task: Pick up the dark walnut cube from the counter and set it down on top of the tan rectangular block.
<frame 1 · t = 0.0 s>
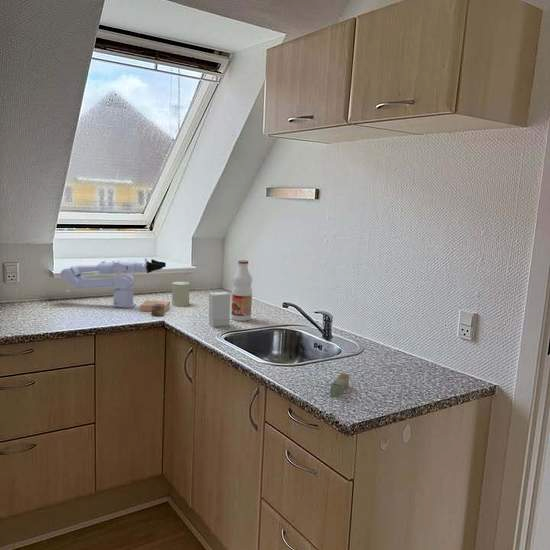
hand: (163, 265, 262), 22 cm above the worktop, tool horizontal, fingers open, 7 cm apart
walnut cube: (157, 315, 250), on the worktop
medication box: (339, 391, 161), on the worktop
can: (180, 304, 276), on the worktop
tan rectangular block: (155, 309, 262), on the worktop
skincare box: (218, 325, 235), on the worktop
fruit juice: (241, 319, 249), on the worktop
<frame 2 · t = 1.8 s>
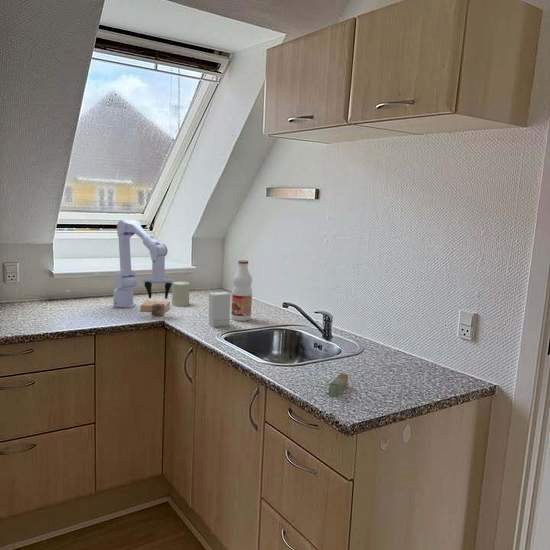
hand: (158, 298, 249), 8 cm above the worktop, tool pointing down, fingers open, 7 cm apart
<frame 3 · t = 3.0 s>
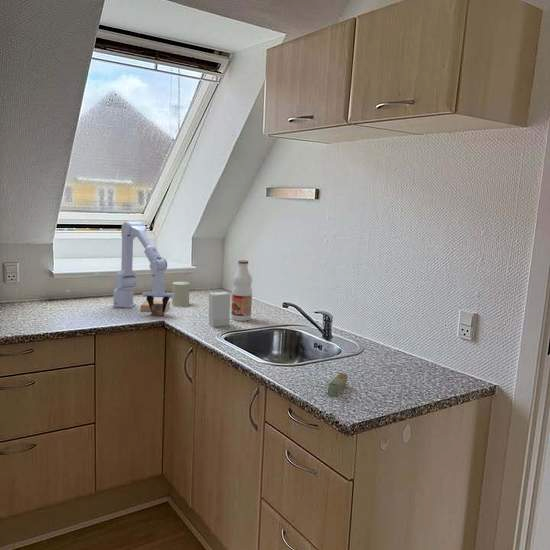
hand: (157, 311, 250), 1 cm above the worktop, tool pointing down, fingers closed on walnut cube, 5 cm apart
walnut cube: (157, 314, 250), on the worktop, touching gripper
everything else where it was.
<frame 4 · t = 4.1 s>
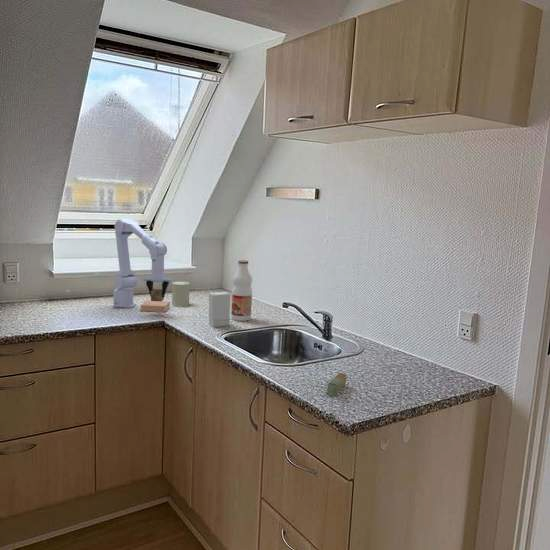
hand: (157, 296, 251), 8 cm above the worktop, tool pointing down, fingers closed on walnut cube, 5 cm apart
walnut cube: (157, 300, 251), point 7 cm above the worktop, touching gripper
everything else where it was.
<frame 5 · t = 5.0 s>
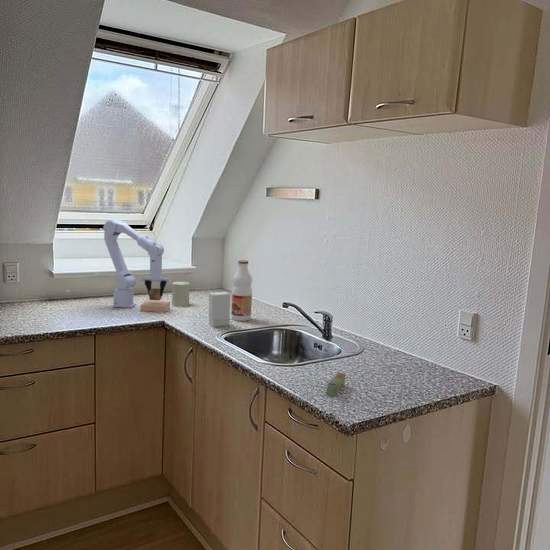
hand: (155, 295, 261), 7 cm above the worktop, tool pointing down, fingers closed on walnut cube, 5 cm apart
walnut cube: (155, 299, 261), point 5 cm above the worktop, touching gripper
when the fingers open (5 cm above the worktop, at t = 5.7 s): walnut cube stays where it is, resting on tan rectangular block.
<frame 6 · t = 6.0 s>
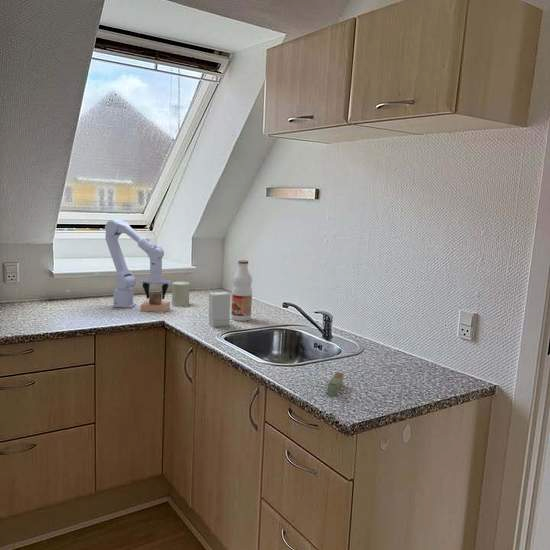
hand: (155, 298, 261), 5 cm above the worktop, tool pointing down, fingers open, 7 cm apart
walnut cube: (155, 303, 261), point 3 cm above the worktop, touching tan rectangular block
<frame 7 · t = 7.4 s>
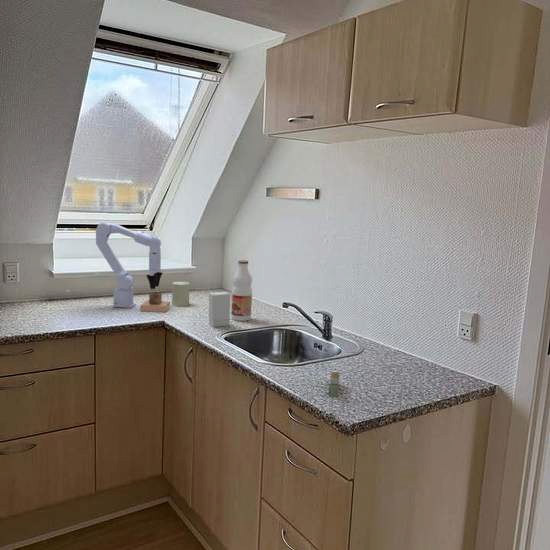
hand: (154, 287, 266), 10 cm above the worktop, tool pointing down, fingers open, 7 cm apart
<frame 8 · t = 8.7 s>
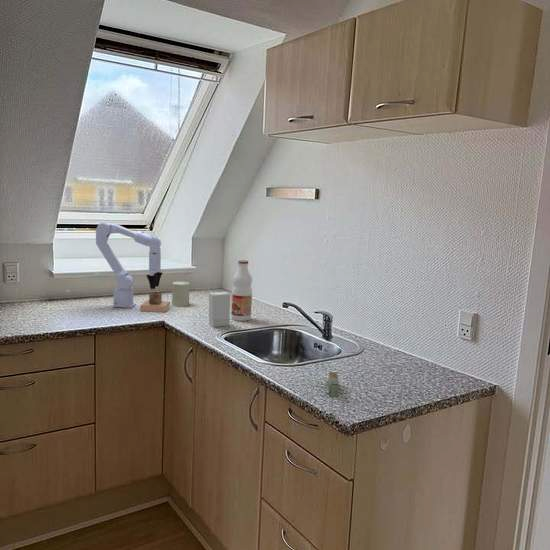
hand: (154, 287, 266), 10 cm above the worktop, tool pointing down, fingers open, 7 cm apart
at the end: walnut cube inside the target area on the tan rectangular block (0.3 cm from its centre), point 3.0 cm above the tan rectangular block's base; walnut cube tilted 0°; the gripper is holding nothing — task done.
